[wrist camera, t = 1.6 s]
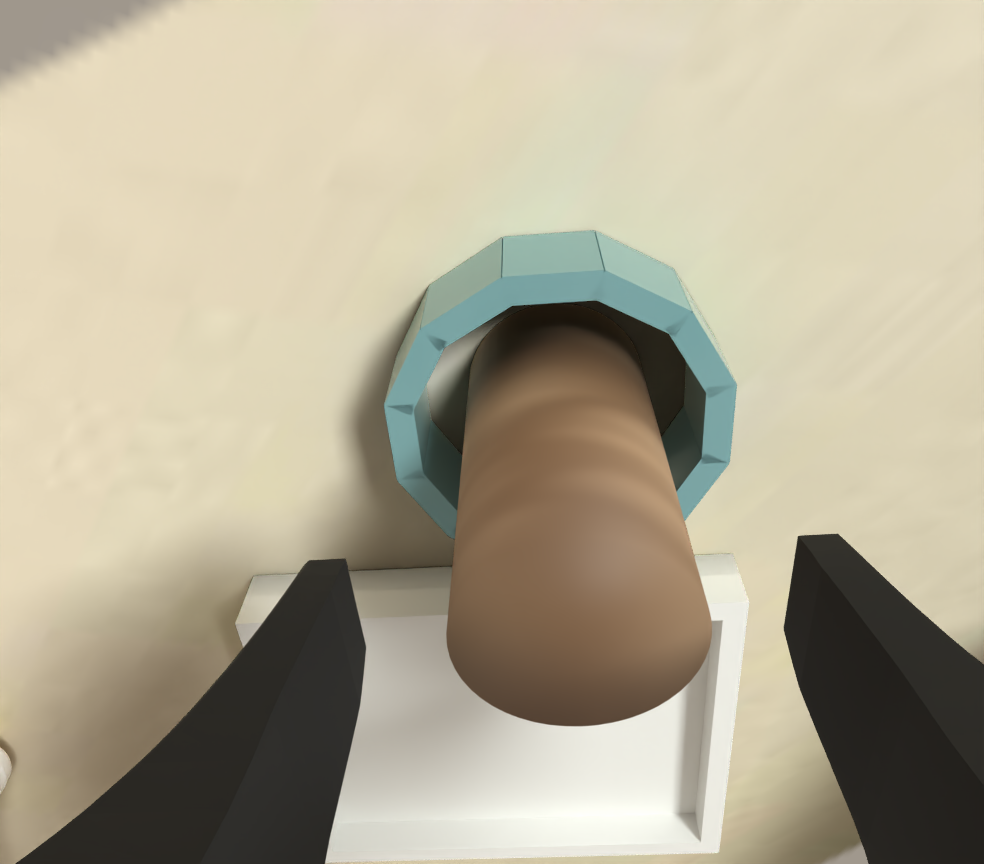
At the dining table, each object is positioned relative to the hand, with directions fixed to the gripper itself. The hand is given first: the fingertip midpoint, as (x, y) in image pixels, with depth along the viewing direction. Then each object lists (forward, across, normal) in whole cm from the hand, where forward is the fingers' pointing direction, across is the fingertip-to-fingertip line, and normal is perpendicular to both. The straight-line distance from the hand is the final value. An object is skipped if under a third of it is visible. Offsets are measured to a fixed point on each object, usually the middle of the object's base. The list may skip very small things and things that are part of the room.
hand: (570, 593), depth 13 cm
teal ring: (+7, 0, 0) cm, 7 cm away
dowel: (+7, 0, 0) cm, 7 cm away
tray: (+7, +2, +11) cm, 13 cm away
